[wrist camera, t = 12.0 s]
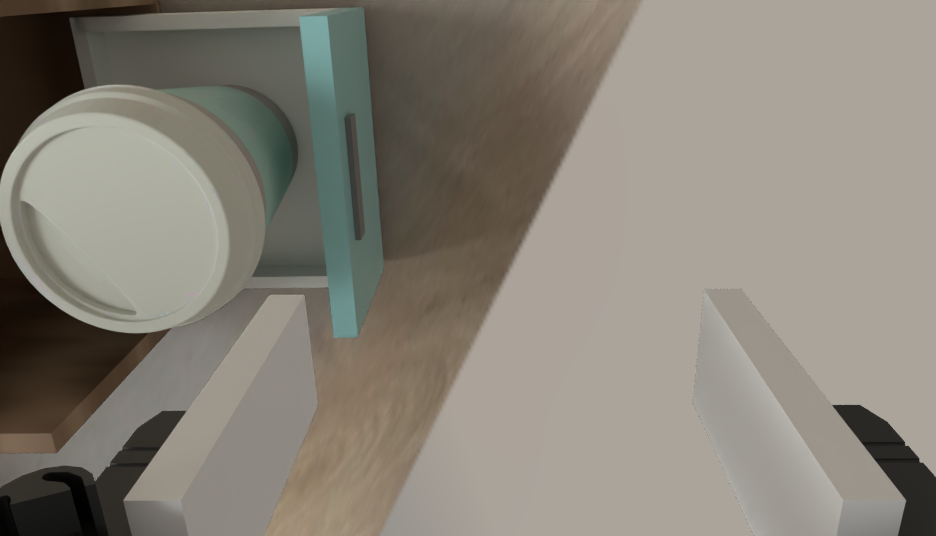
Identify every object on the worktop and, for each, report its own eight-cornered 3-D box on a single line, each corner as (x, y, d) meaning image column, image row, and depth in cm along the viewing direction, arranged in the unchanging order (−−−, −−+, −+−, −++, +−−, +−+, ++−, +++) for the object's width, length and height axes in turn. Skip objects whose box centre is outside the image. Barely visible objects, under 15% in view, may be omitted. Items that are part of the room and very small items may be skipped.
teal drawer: (150, 271, 38) (69, 340, 31) (97, 15, 33) (-11, 25, 26) (388, 268, 38) (363, 337, 30) (369, 6, 33) (334, 15, 26)
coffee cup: (125, 63, 33) (-61, 107, 22) (310, 44, 33) (214, 80, 22) (171, 240, 36) (28, 356, 25) (340, 226, 36) (271, 339, 25)
